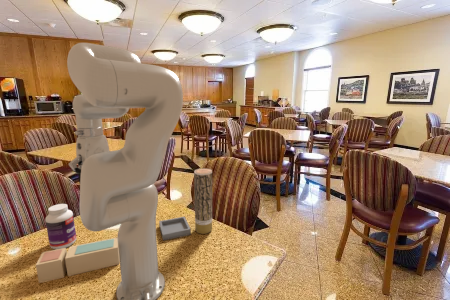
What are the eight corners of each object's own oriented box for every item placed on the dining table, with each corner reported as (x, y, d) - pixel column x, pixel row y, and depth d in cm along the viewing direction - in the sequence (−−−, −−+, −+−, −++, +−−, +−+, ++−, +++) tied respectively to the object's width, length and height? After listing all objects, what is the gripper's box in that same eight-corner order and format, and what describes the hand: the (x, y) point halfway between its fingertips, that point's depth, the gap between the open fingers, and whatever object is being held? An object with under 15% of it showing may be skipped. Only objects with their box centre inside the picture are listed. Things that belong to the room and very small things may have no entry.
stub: (63, 277, 68) (60, 259, 67) (39, 283, 66) (35, 264, 65) (68, 264, 74) (65, 247, 72) (45, 269, 71) (42, 251, 70)
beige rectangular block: (119, 264, 74) (117, 246, 72) (67, 276, 68) (64, 258, 67) (119, 252, 79) (118, 236, 78) (71, 263, 74) (68, 246, 73)
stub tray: (190, 234, 90) (190, 229, 90) (163, 240, 86) (162, 234, 86) (184, 221, 100) (184, 216, 99) (159, 226, 96) (159, 221, 95)
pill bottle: (73, 248, 81) (67, 210, 78) (46, 252, 79) (39, 214, 76) (79, 235, 89) (74, 200, 86) (55, 239, 86) (49, 203, 83)
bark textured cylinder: (214, 232, 92) (214, 172, 86) (197, 236, 89) (196, 174, 84) (209, 224, 98) (208, 167, 93) (193, 227, 95) (192, 169, 90)
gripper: (74, 136, 69) (82, 190, 73) (118, 130, 85) (122, 174, 89) (57, 135, 72) (65, 187, 75) (103, 129, 88) (107, 172, 91)
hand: (96, 180), depth 82 cm, fingers open, 9 cm apart
